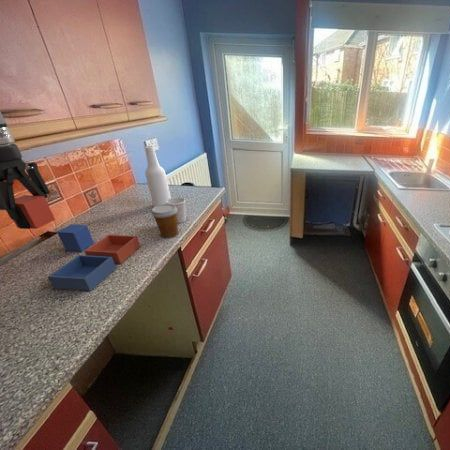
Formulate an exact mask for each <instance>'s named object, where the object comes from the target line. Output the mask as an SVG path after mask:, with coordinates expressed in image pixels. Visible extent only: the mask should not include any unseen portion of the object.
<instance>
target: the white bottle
mask: <svg viewBox="0 0 450 450" xmlns="http://www.w3.org/2000/svg"><path fill="white" fill-rule="evenodd" d="M144 151H145V155H146V161H147V167H146V169H145V170H144V172H145V173H144V175H145V179H146V182H147V187H148V190H149V194H150V198H151V201H152V206H153V208H154V207H155V206H158V205H162V204H166V203H165V201H166V200H168V199H170V198H172V196H171V191H170V188H169V187H170V186H169V183H168V178H167V173H166V171H165V169H164V168H163V167H162V166H161V165H160V163H159V160H158V156H157V154H156V150H155V146H152V145H146V146H144Z"/></svg>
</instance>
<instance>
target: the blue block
mask: <svg viewBox="0 0 450 450" xmlns="http://www.w3.org/2000/svg"><path fill="white" fill-rule="evenodd" d="M56 233H57V235H58V237H59V239H60V241H61V243H62V246H63V248H64V250H65V252H81V253H82V252H84V251H85V250H87V249H88V248H90V247H91V246H93V245H94V244H95V242H94V239H93V237H92V235H91V232H90V230H89V227H88V225H87V224H73V223H72V224H69V225H68V226H66V227H64V228H61V229H60V230H58V231H57V232H56Z"/></svg>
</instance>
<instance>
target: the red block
mask: <svg viewBox="0 0 450 450" xmlns="http://www.w3.org/2000/svg"><path fill="white" fill-rule="evenodd" d="M15 203H16V208H21V210H22V212H23V214H24V216H25V218H26V219H27V221H28V223H29V225H30V227H31V228H30V229H32V230H33V229H35V230H37V229H40V228H42V227H44V226H47V225H48V224H49V223H50V224H51V222H55V221H56V218H55V215H54V213H53V212H52V209H51V208H50V205H49V203H48V202H47V198H45V197H44V196H33V195H28V194H27V195H26V194H25V195H22V196H19V197H15ZM12 222H14V224H15V226H16V228H18V229H20V228H19V226H18V225H17V223H16V221H15V220H12Z"/></svg>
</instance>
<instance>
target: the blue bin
mask: <svg viewBox="0 0 450 450" xmlns="http://www.w3.org/2000/svg"><path fill="white" fill-rule="evenodd" d="M116 269H117V266H116V263H114V261H113V258H112V257H106V256H89V255H86V254H78V255H77V256H75V257H74V258H72V259H71V260H69V261H68V262H67V263H65V264H64V265H62V266H61V267H59V268H58V269H57V270H55V271H54V272H52V273H51V274H49V275H48V276H47V279H48V280H49V283H50V284H51V286H52V287H53V289H55V290H68V291H69V290H73V291H89V292H91V291H92V290H93V289H94V288H95V287H96V286H98V285H99V284H101V282H102V281H103V280H104V279H105V278H106V277H108V276H109V275H110V274H111V273H112V272H113V271H115V270H116Z"/></svg>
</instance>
